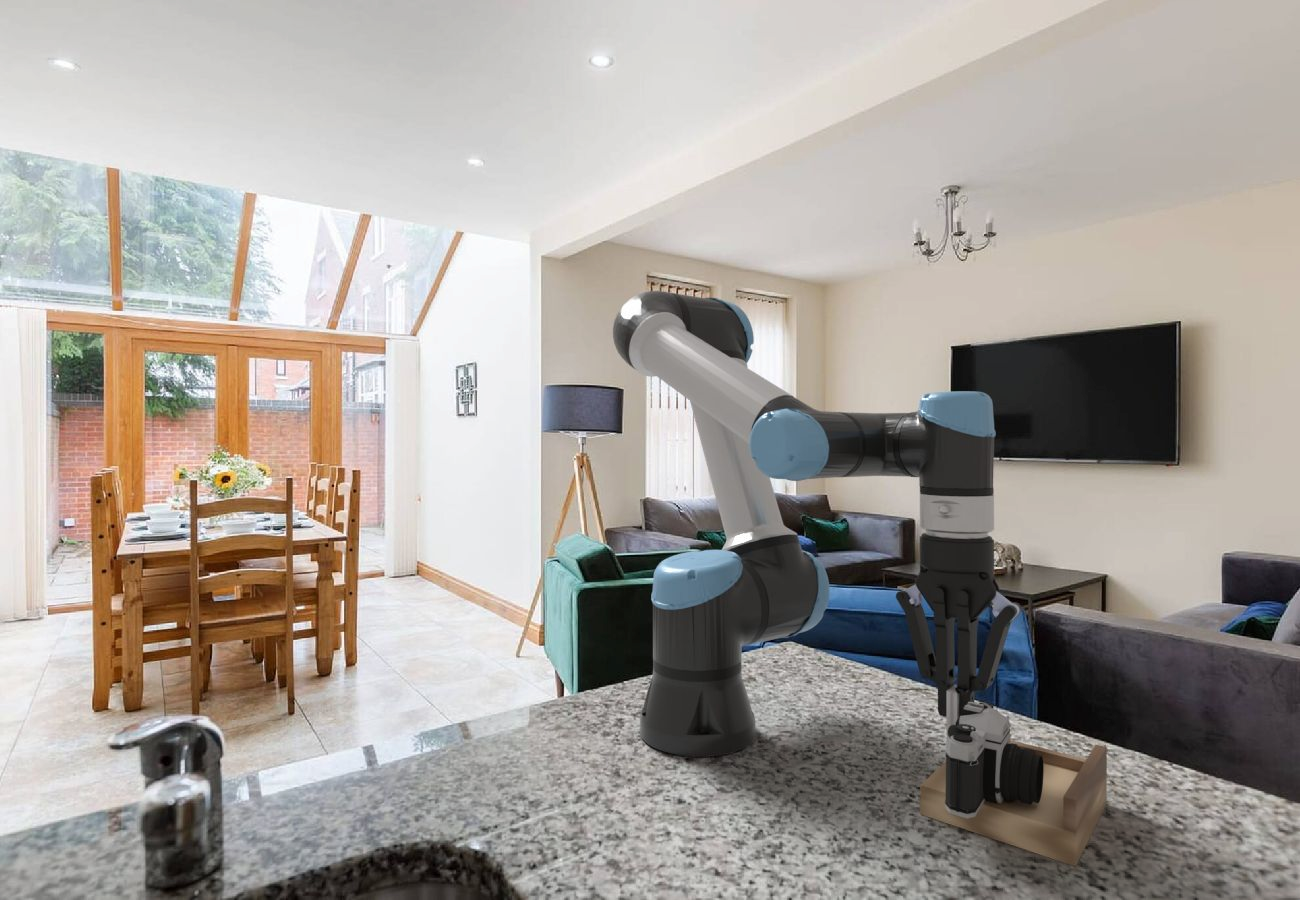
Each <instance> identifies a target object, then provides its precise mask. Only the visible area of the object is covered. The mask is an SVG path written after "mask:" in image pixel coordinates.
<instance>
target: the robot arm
mask: <svg viewBox="0 0 1300 900" xmlns="http://www.w3.org/2000/svg"><path fill="white" fill-rule="evenodd" d="M612 338H613V343H614V346H615V349H616V351H617V353H618V354H619V356H620V358H622V360H623V361H624V362H625V363H627V365H629V367H631V368H633V369H634V370H635V371H637V372H638V373H640V374H641V375H643V376H646V377H651V378H652V377H657V378H658V379H660V380H661V381H663V382H664V383H665V384H666V385H668V386H669V387H671V388H672V389H673V390H675V392H678V393H679V394H680V395H681V396H683V397H684V398H686V399H687V400H689V402H690V405H691V410H692V413H693V418H694V421H695V424H696V429H697V433H698V436H699V440H700V444H701V447H702V452H703V455H704V458H705V462H706V467H707V471H708V475H709V478H710V481H711V482H710V483H711V485H712V488H713V493H714V497H715V500H716V505H717V508H718V512H719V515H720V519H721V523H722V527H723V531H724V535H725V538H726V541H725V543H724V545H723V547H722V549H705V550H702V551H699V550H693V551H686V552H682V553H678V554H674V555H671V556H669V557H667V558H665V559H663V560H661V562H659V563H658V565H657V566H656V568H655V570H654V572H653V579H652V581H653V582H652V592H651V599H650V600H651V602H652V661H653V662H652V664H653V665H652V677H651V680H650V684H649V685H648V686H649V687H648V690H647V693H646V695H645V699H644V702H643V708H642V709H641V710H640V711H641V712H640V716H639V734H640V735H639V736H640V737H641V739H642V741H644V742H645V743H646V744H647V745H649V746H650V747H652V748H654V749H656V750H659V751H662V752H664V753H668V754H672V755H678V756H684V757H698V758H699V757H715V756H724V755H729V754H733V753H736V752H738V751H741V750H743V749H746V748H747V747H749V746H750V745H751V744H752V743H753V742H754V741H755V738H756V719H755V718H756V717H755V714H754V712H753V710H752V706H751V703H750V699H749V698H750V697H749V696H748V692H747V688H746V686H745V683H744V679H743V676H742V674H743V673H742V659H743V658H742V647H744V646H749V645H754V644H758V643H763V642H768V641H771V640H775V639H776V640H777V639H781V638H782V639H785V638H786V639H788V638H790V637H796V636H797V635H798V634H800V633H804V632H807V631H809V630H811V629H813V628H814V627H815V626H817V625H818V624H819V623H820V622H821V620H822V618H823V617H824V614H825V611H826V610H827V608H828V604H829V601H830V599H829V598H830V581H829V577H828V573H827V571H826V568H825V567H824V565H823V563H822V561H820V559H819V558H816V557H815V555H814V554H813V553H810V552H809V551H805V550H804V549H802V546H801V542H800V539H799V536H798V533H797V532H796V531H793V530H792V529H790V528H788V527H787V526H786V525H785V524H784V521H783V518H782V515H781V512H780V508H779V505H778V501H777V498H776V494H775V491H774V487H773V484H772V481H771V480H772V479H776V480H786V481H791V482H793V481H794V482H800V481H805V480H806V481H807V480H815V479H816V480H817V479H830V478H831V479H832V478H855V477H857V478H859V477H860V478H861V477H910V478H919V527H920V528H921V529H922V530H924V531H925V532H923V533H921V535H920V536H919V571H918V572H919V573H918V574H917V576H916V578H915V584H914V585H911V586H910V587H908V588H905V589H903V590H900V591H897V592H896V594H895V599H896V600H897V602H898V603H899V605H900V608H901V609H902V610H903V612H904V614H905V619H906V623H907V627H908V631H909V634H910V635H909V636H910V639H911V643H912V647H913V650H914V651H913V652H914V655H915V659H916V663H917V667H918V671H919V675H920V677H921V678H922V679H923V680H929V681H931V682H933V683H934V684H935V685H936V687H937V712H938V715H939V716H941V717H945V718H946V728H945V729H946V736H945V737H946V738H947V737H948V729H949V727H950V726H951V725H955V724H956V721H957V719H958V718H959V717H960V716H961V715H962V713H963V710H964V706H965V705H967V704H968V702H974V703H975V701H976V699H975V696H976V695H975V692H977V691H980V692H983V691H986V690H987V689H988V688H989V687H990V686H991V685H992V684H993V683H994V681H995V677H996V675H997V671H998V667H999V664H1000V661H1001V657H1002V655H1003V651H1004V647H1005V643H1006V640H1007V637H1008V633H1009V630H1010V626H1011V624H1012V622H1013V621H1014V620H1015V619H1016V618H1017V617H1018V616H1019V615H1020V613H1021V612H1022V606H1021V604H1020V603H1019V602H1015V601H1014V602H1012V601H1010V600H1009V599H1008V598H1006V597H1005V596H1004V595H1002V594H1001V593H1000V587H999V584H998V583H997V581H996V579H995V539H993V537H992V536H990V535H989V533H992V532H993V531H994V530H995V494H994V459H995V437H996V435H997V433H996V430H995V420H994V419H995V417H994V405H993V399H992V398H991V397H990V395H989V394H987V393H985V392H982V391H974V390H973V391H969V390H968V391H967V390H966V391H963V390H962V391H960V390H959V391H938V392H937V391H935V392H931V393H930V392H928V393H924V394H923V395H922V396H921V397H920V399H919V404H918V405H919V406H918V408H917V410H916V411H913V412H912V411H911V412H886V413H885V412H884V413H883V412H881V413H879V412H877V413H876V412H872V413H871V412H843V411H823V410H822V411H821V410H819V409H815V408H814V407H812V406H810V405H808V404H806V403H804V402H803V401H801V400H800V399H798V398H796V397H794V396H793V395H792V394H790V393H789V392H787V391H785V390H784V389H783V388H780V387H778V385H776V384H774V383H773V382H771V381H769V380H768V379H766V378H764V377H762V376H761V375H760V374H758V373H756V372H755V371H753V370H751V369H750V368H749V367H748V363H749V361H750V359H751V356H752V353H753V349H752V348H751V346H752V345H753V344H754V338H755V337H754V330H753V327H752V323H751V321H750V319H749V317H748V315H747V314H746V313H745V311H744V310H743V309H741V308H740V306H738V305H737V304H734V303H733V302H730V301H725V300H723V299H720V298H717V297H711V296H710V297H700V296H694V295H693V296H692V295H688V294H681V293H674V292H669V291H668V292H667V291H663V290H653V291H652V290H650V291H648V290H647V291H644V292H641V293H638V294H636V295H635V296H632V297H631V298H629V300H627V301H626V302H625V303H624V304H623V305H622V306H621V307H620V309H619V310H618V312H617V314H616V315H615V319H614V321H613V326H612ZM923 599H924V601H925V602H926V603H927V605H928V607H929V608H930V610H931V611H932V612H933V625H934V627H935V629H934V630H935V650H934V646H933V641H932V638H931V634H930V630H929V626H928V622H927V618H926V614H925V611H924V607H923V604H922V602H923ZM991 604H992V605H993V608H992V611H991V612H992V615H993V616H994V620H993V622H992V624H991V626H990V630H989V633H988V637H987V640H986V644H985V647H984V650H983V652H982V653H983V654H982V657H981V659H980V660H981V661H980V664H979V668H978V671H977V658H978V657H977V656H978V655H977V652H978V651H977V649H978V626H979V620H980V619H979V618H980V616H982V614H983V613H984V612H985V611H986V610H987V608H988V607H989V606H990V605H991ZM955 622H956V629H957V676H956V671H955V670H956V669H955V667H956V665H955V661H956V660H955V659H956V658H955ZM956 680H957V684H956V683H955V684H954V682H956Z"/></svg>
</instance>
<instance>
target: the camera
mask: <svg viewBox="0 0 1300 900" xmlns="http://www.w3.org/2000/svg"><path fill="white" fill-rule="evenodd" d="M1012 735H1013V734H1011V723H1010V719H1009V718H1008V717H1007V716H1005V715H1004V714H1002V713H1001V712H1000V711H999V710H997V709H994V704H993V703H991V702H986V701H985V702H984V701H981V702H980V701H979V702H975V701H974V702H968V704H967V705H965V706H964V710H963V713H962V715H961V716H960V717H959V718H958V719H957V721H956V724H955V725H951V726H950V727H949V729H948V737H947V738H946V739H945V761H946V799H945V804H946V809H947V811H948V812H949V813H950V814H954V815H957V816H960V817H964V818H972V817H975V816H976V814H977V813H978V811H979V810H980V808H981V806H982V805H983V803H984V801H985V800H986V801H990V802H994V803H1002V801H1003V799H1004V798H1005V799H1006V800H1008V801H1013V800H1020V801H1021V802H1022V803H1025V804H1029V805H1031V804H1032V802H1035V803H1039V802H1040V799H1041V794H1042V787H1043V774H1044V766H1043V757H1042V755H1038V754H1036V751H1035V750H1032V749H1028V748H1025V749H1022V748H1020V747H1018V746H1017V744H1013V743H1011V744H1010V740H1011V737H1012Z"/></svg>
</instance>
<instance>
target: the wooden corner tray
mask: <svg viewBox="0 0 1300 900" xmlns="http://www.w3.org/2000/svg"><path fill="white" fill-rule="evenodd" d="M1011 743H1013V744H1017V746H1018V747H1020V748H1022V749H1025V748H1028V749H1032V750H1035V751H1036V754H1038V755H1042V757H1043V766H1044V774H1043V787H1042V794H1041V799H1040V802H1039V803H1035V802H1032V804H1031V805H1029V804H1025V803H1022V802H1021V801H1020V800H1013V801H1008V800H1006V799H1005V798H1004V799H1003V801H1002V803H994V802H990V801H986V800H985V801H984V803H983V805H982V806H981V808H980V810H979V811H978V813H977V814H976V816H975V817H972V818H964V817H960V816H957V815H954V814H950V813H949V812H948V811H947V809H946V804H945V799H946V760H945V761H944V762H943V763H942V764H941V765H940V766H939V767H938V768H937V769H935V771H934V772H933V773H931V774H930V775H929V776H928V778H926V779H925V780H923V782H922V783H921V784H920V785H919V786H920V787H919V788H920V792H919V793H920V799H919V801H920V804H919V805H920V812H919V814H920V815H921V816H924V817H928V818H930V819H933V820H937V821H940V822H942V823H946V824H949V825H952V826H955V827H957V828H960V829H963V830H965V831H966V830H967V831H968V832H969V831H970V832H973V833H975V834H978V835H981V836H984V837H987V838H990V839H994V840H996V841H999V842H1001V843H1005V844H1009V845H1011V846H1013V847H1017V848H1019V849H1022V850H1026V851H1028V852H1032V853H1035V854H1038V855H1040V856H1043V857H1046V858H1049V859H1052V860H1056V861H1059V862H1062V863H1064V864H1067V865H1070V866H1073V867H1077V866H1078V863H1079V860H1080V858H1081V857H1082V854H1083V853H1084V851H1085V849H1086V846H1087V845H1088V842H1089V840H1090V838H1091V837H1092V834H1093V832H1094V831H1095V828H1096V827H1097V824H1098V822H1099V820H1100V817H1101V816H1102V813H1103V812H1104V809H1105V808H1106V805H1107V795H1108V794H1107V791H1108V790H1107V788H1108V787H1107V785H1108V784H1107V783H1108V781H1107V780H1108V777H1107V776H1108V773H1107V772H1108V771H1107V770H1108V764H1107V759H1108V756H1107V754H1108V751H1107V749H1108V747H1107V746H1105V745H1099V744H1095V745H1094V747H1093V748H1092V750H1091V751H1090V753H1089V755H1088V756H1087V758H1084V757H1079V756H1077V755H1076V756H1075V755H1071V754H1069V753H1063V752H1060V751H1056V750H1052V749H1049V748H1045V747H1040V746H1036V745H1032V744H1029V743H1024V742H1019V741H1016V740H1011V739H1010V744H1011Z"/></svg>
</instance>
